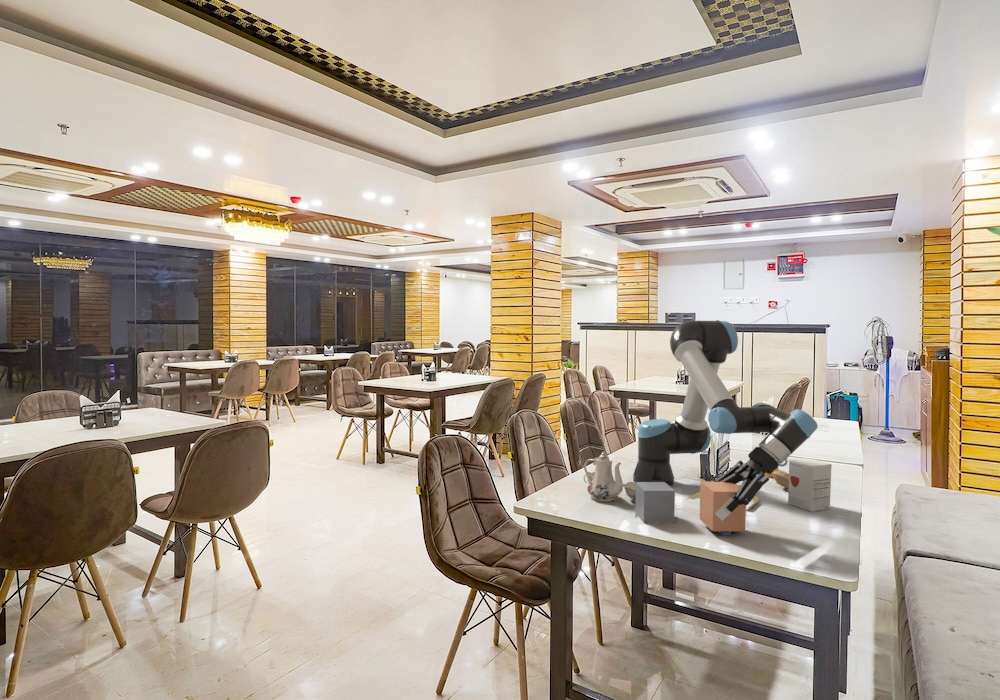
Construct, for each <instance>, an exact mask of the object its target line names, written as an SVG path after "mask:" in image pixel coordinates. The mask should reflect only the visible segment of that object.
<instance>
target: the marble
mask: <svg viewBox="0 0 1000 700" xmlns="http://www.w3.org/2000/svg"><path fill="white" fill-rule="evenodd" d="M718 533H719V534H720V535H723V536H730V535H731V534H732V531H719V532H718Z"/></svg>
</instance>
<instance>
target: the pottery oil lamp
mask: <svg viewBox="0 0 1000 700" xmlns="http://www.w3.org/2000/svg"><path fill="white" fill-rule="evenodd" d="M772 475H773V477H774V478H773V479H774V480H775V482H776V484H777V485H779V486H781V487H783V488H785V489H789V472H786V471H784V470H782V469H781V470H779V469H778V470H776V469H775V470H774V471H773V472H772Z"/></svg>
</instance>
